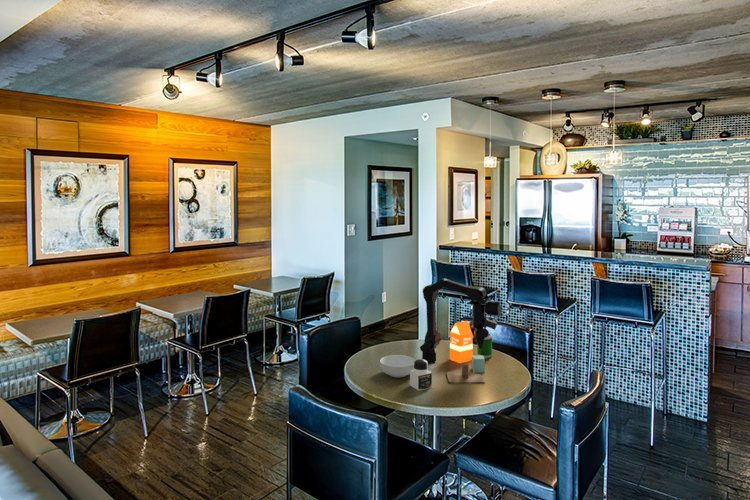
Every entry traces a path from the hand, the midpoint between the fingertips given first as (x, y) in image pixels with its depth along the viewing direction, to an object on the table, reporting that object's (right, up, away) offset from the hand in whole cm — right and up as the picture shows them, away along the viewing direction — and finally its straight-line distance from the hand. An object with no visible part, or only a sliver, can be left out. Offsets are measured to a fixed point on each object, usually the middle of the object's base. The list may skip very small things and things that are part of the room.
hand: (478, 345), depth 240 cm
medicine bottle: (-30, -15, -19) cm, 38 cm away
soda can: (+8, -10, +22) cm, 25 cm away
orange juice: (-5, -11, +17) cm, 21 cm away
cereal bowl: (-39, -13, -3) cm, 41 cm away
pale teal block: (0, -12, +1) cm, 12 cm away
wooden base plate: (-8, -14, -9) cm, 18 cm away
